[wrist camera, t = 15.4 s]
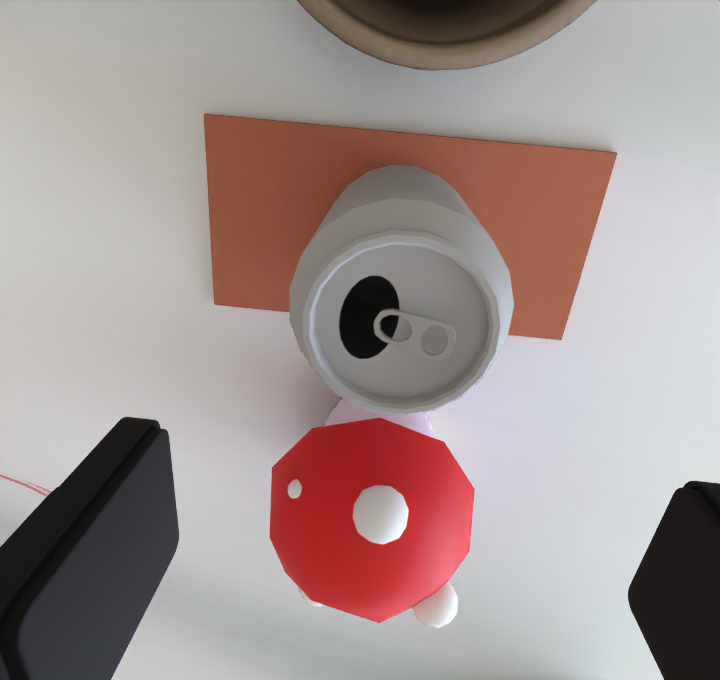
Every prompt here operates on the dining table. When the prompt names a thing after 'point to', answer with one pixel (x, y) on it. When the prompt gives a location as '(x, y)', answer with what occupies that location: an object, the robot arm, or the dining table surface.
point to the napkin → (383, 148)
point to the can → (401, 294)
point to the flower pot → (444, 28)
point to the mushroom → (372, 516)
